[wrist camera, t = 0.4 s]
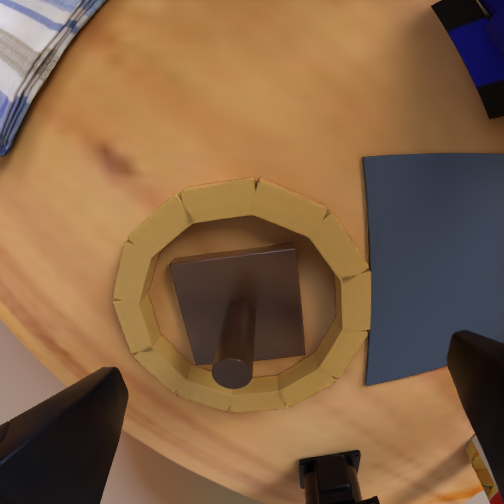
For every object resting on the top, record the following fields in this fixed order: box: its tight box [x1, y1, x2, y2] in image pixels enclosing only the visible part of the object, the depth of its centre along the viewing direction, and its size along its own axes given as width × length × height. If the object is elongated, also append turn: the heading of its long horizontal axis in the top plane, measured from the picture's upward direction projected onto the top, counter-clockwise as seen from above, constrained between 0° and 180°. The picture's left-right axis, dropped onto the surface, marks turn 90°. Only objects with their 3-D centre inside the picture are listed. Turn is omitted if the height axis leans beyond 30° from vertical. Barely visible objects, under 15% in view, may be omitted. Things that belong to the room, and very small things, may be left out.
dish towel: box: [0, 0, 106, 157], centre depth 13 cm, size 17×24×3 cm
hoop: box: [113, 177, 371, 412], centre depth 21 cm, size 17×17×2 cm
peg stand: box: [170, 243, 305, 389], centre depth 18 cm, size 8×8×8 cm
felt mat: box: [363, 153, 504, 386], centre depth 20 cm, size 18×16×1 cm
